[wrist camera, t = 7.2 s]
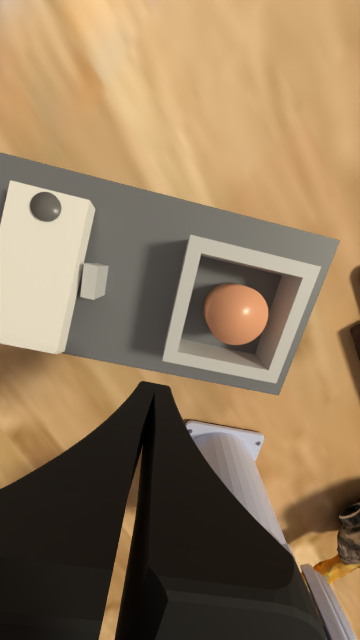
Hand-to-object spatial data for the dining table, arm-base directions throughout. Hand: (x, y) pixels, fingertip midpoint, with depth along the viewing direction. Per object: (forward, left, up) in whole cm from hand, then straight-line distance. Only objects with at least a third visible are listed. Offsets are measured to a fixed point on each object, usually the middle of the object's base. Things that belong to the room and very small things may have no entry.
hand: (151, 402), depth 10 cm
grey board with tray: (+4, +2, -9) cm, 10 cm away
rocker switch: (+4, +8, -5) cm, 10 cm away
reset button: (+4, -4, -6) cm, 8 cm away
